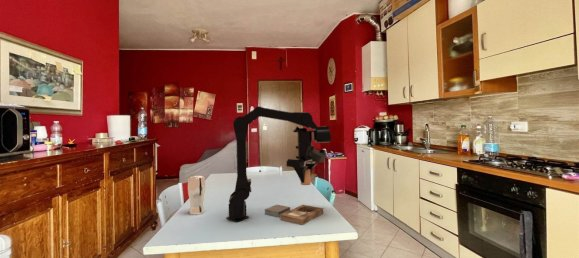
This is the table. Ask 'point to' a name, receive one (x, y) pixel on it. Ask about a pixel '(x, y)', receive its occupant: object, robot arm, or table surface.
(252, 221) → the table surface
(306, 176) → the peg
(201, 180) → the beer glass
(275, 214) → the tab
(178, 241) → the table surface
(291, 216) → the hole plate
